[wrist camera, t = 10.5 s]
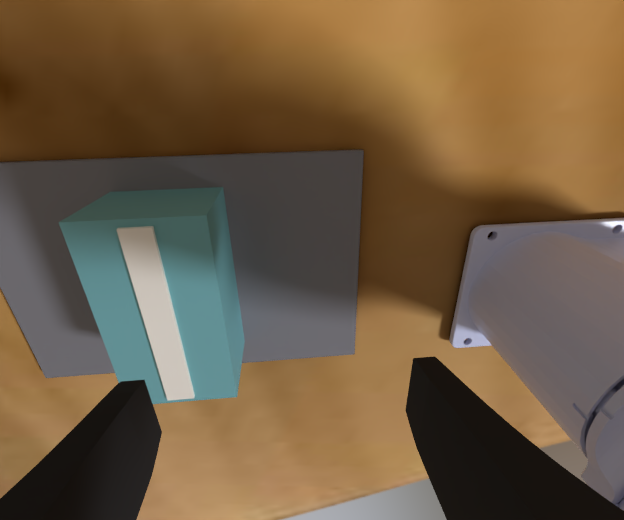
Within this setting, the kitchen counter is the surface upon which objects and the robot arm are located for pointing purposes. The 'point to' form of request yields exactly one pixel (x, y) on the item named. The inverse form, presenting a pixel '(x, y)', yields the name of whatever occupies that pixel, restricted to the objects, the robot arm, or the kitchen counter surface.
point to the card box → (162, 289)
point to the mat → (244, 241)
